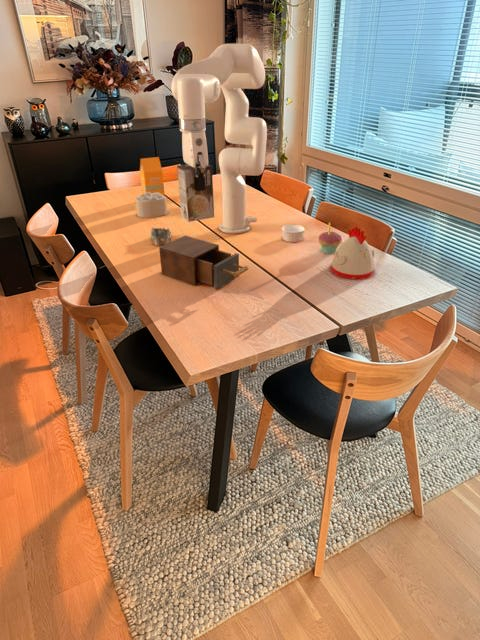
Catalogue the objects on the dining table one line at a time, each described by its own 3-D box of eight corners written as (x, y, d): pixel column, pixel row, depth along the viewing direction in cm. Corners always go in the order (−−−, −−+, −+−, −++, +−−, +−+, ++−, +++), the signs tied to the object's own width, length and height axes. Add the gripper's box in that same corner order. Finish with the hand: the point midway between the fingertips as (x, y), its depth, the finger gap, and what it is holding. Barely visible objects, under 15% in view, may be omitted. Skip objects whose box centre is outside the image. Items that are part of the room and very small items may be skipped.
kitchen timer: (346, 282, 147) (352, 238, 139) (323, 265, 158) (327, 223, 150) (381, 274, 152) (389, 231, 144) (356, 259, 162) (362, 218, 154)
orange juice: (143, 199, 223) (138, 157, 212) (160, 197, 226) (156, 155, 216) (147, 204, 217) (142, 160, 206) (165, 201, 220) (161, 158, 209)
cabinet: (219, 271, 154) (218, 244, 149) (195, 285, 146) (193, 257, 140) (186, 261, 161) (185, 235, 156) (161, 274, 153) (159, 247, 148)
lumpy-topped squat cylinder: (169, 214, 204) (168, 194, 200) (142, 219, 199) (139, 199, 194) (160, 207, 212) (159, 189, 207) (133, 212, 206) (131, 193, 202)
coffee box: (206, 212, 151) (204, 161, 142) (214, 217, 146) (213, 165, 138) (180, 216, 147) (176, 165, 139) (188, 222, 142) (184, 169, 134)
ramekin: (276, 239, 179) (277, 228, 176) (290, 233, 184) (291, 222, 182) (294, 245, 173) (295, 234, 171) (308, 238, 179) (309, 227, 177)
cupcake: (335, 257, 163) (338, 225, 157) (313, 252, 167) (315, 220, 161) (343, 249, 170) (347, 218, 163) (322, 244, 173) (325, 214, 167)
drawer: (253, 280, 146) (253, 258, 142) (231, 294, 138) (231, 271, 134) (206, 266, 156) (205, 244, 152) (184, 278, 148) (182, 256, 144)
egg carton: (171, 245, 174) (170, 235, 172) (151, 246, 173) (150, 236, 171) (171, 234, 183) (170, 225, 181) (152, 235, 182) (151, 226, 180)
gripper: (215, 128, 127) (217, 193, 136) (194, 120, 140) (197, 179, 150) (190, 130, 124) (193, 196, 133) (170, 121, 138) (175, 182, 147)
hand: (195, 186), depth 141 cm, fingers closed on coffee box, 6 cm apart
